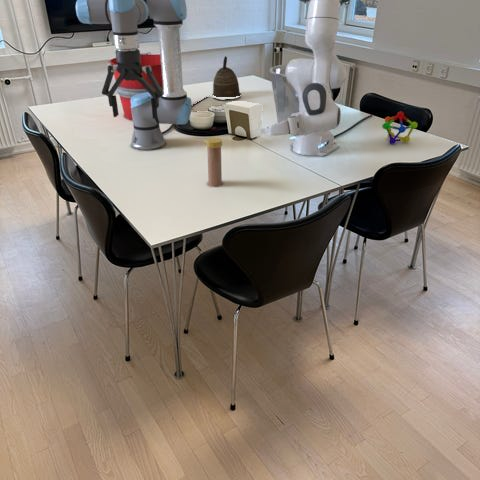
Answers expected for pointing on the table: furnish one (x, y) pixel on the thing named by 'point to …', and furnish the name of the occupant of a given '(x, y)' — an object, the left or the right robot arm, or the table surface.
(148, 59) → the bucket
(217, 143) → the lid
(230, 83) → the bell
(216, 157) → the jar
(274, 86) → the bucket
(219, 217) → the table surface
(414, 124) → the educational toy
